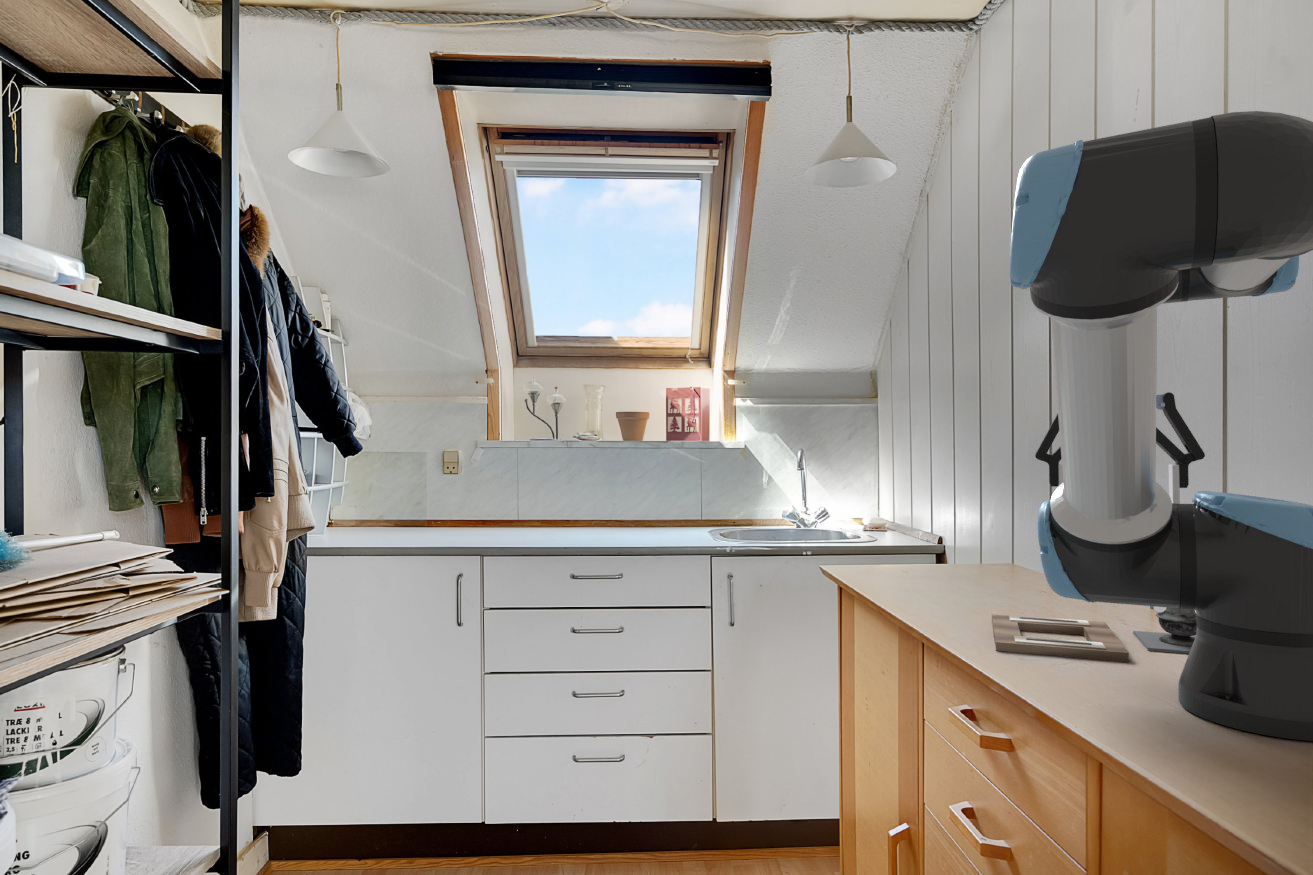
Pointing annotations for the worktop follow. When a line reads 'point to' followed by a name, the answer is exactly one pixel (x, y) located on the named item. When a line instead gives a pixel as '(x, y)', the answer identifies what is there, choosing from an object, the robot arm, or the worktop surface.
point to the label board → (1096, 634)
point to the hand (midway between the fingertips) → (1116, 511)
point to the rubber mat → (1159, 642)
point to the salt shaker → (1178, 626)
